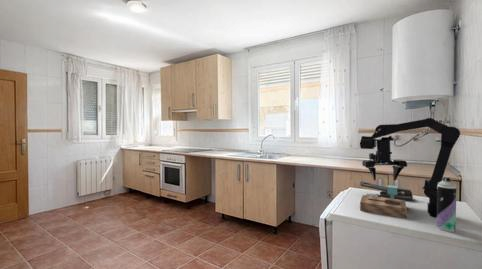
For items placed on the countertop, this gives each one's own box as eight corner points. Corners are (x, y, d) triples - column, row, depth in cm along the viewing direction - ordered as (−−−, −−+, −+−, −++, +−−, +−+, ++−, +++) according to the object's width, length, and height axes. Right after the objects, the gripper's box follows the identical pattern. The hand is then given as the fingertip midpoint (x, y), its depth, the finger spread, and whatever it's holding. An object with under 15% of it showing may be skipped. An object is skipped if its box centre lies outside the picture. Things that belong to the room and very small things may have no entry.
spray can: (437, 229, 89) (438, 178, 88) (435, 224, 93) (436, 175, 92) (457, 233, 86) (458, 179, 85) (453, 227, 90) (454, 176, 89)
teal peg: (396, 203, 118) (396, 186, 117) (397, 206, 114) (397, 188, 114) (387, 202, 120) (387, 185, 119) (387, 204, 116) (387, 187, 116)
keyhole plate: (404, 208, 111) (404, 200, 111) (406, 217, 100) (406, 208, 100) (362, 202, 120) (362, 194, 120) (360, 210, 109) (360, 202, 109)
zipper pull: (360, 180, 139) (411, 185, 126) (360, 191, 140) (411, 197, 127) (359, 184, 132) (413, 189, 119) (359, 195, 132) (413, 202, 119)
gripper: (395, 147, 122) (396, 177, 123) (358, 148, 125) (359, 177, 126) (407, 149, 111) (408, 181, 112) (366, 150, 114) (366, 182, 115)
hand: (384, 180), depth 116 cm, fingers open, 9 cm apart
